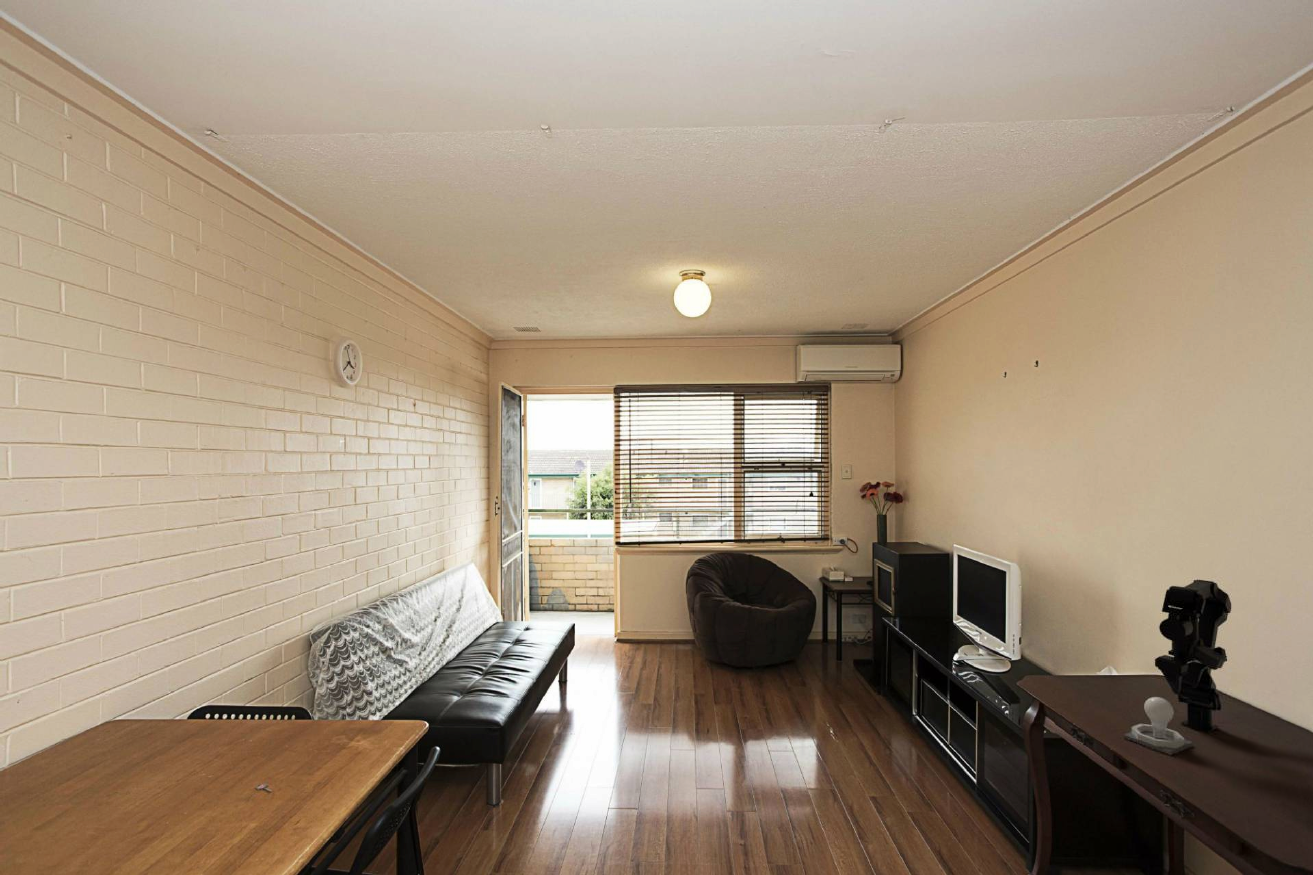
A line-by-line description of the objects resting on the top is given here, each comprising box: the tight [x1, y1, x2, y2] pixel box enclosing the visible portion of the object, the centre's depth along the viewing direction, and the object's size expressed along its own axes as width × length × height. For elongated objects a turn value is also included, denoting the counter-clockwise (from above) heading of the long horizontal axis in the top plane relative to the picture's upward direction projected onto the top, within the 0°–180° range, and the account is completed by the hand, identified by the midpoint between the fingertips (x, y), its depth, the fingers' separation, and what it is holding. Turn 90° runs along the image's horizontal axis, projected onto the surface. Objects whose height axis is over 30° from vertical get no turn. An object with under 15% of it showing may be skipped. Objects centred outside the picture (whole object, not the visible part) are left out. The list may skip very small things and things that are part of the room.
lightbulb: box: [1143, 696, 1175, 739], centre depth 177 cm, size 6×6×11 cm
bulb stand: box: [1123, 723, 1193, 756], centre depth 177 cm, size 11×11×2 cm
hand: (1185, 691), depth 179 cm, fingers open, 9 cm apart
